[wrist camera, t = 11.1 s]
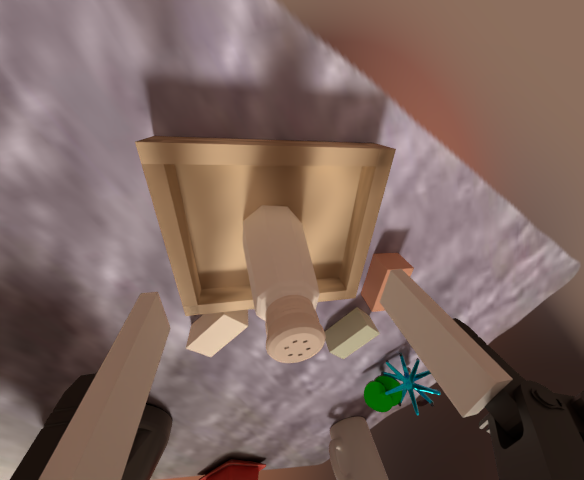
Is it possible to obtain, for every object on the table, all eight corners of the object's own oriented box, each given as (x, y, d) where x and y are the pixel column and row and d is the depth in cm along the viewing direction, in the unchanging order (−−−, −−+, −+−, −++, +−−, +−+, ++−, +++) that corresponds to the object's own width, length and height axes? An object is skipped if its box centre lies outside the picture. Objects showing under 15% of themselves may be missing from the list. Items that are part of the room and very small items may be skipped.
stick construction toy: (416, 349, 33) (454, 405, 30) (414, 338, 39) (446, 383, 37) (350, 379, 37) (378, 432, 34) (358, 365, 43) (382, 408, 40)
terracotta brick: (381, 291, 28) (395, 309, 25) (360, 292, 27) (371, 311, 25) (396, 251, 25) (413, 268, 22) (372, 252, 24) (387, 269, 22)
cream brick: (214, 333, 26) (210, 357, 24) (191, 323, 25) (185, 348, 22) (247, 303, 25) (248, 326, 22) (226, 292, 23) (223, 314, 21)
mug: (372, 417, 50) (401, 488, 40) (347, 434, 52) (369, 504, 43) (336, 412, 44) (360, 492, 35) (309, 431, 47) (325, 510, 38)
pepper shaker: (308, 246, 21) (359, 359, 11) (253, 264, 21) (260, 393, 11) (293, 194, 18) (347, 288, 8) (229, 214, 18) (213, 333, 8)
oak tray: (192, 292, 22) (185, 316, 20) (153, 135, 15) (135, 141, 12) (344, 278, 25) (355, 298, 23) (374, 143, 18) (395, 149, 15)
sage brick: (335, 338, 31) (343, 359, 29) (322, 331, 30) (329, 352, 27) (368, 314, 30) (379, 333, 27) (356, 305, 28) (367, 325, 26)
